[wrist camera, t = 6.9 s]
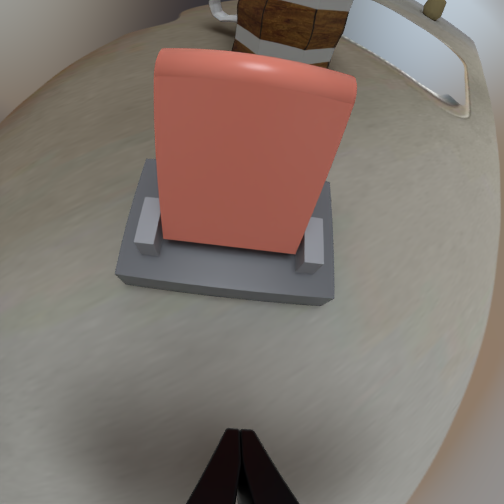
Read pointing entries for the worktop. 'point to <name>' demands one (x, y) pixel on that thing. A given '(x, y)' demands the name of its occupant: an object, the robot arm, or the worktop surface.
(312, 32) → the mug
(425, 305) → the worktop surface
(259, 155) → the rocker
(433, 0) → the squeeze bottle
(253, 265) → the grey holder stand
